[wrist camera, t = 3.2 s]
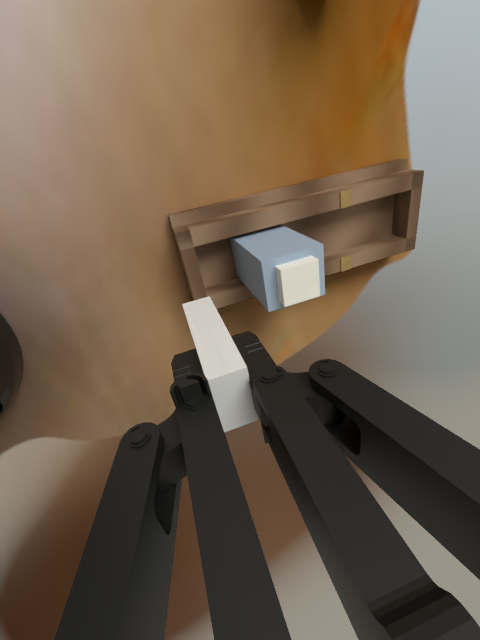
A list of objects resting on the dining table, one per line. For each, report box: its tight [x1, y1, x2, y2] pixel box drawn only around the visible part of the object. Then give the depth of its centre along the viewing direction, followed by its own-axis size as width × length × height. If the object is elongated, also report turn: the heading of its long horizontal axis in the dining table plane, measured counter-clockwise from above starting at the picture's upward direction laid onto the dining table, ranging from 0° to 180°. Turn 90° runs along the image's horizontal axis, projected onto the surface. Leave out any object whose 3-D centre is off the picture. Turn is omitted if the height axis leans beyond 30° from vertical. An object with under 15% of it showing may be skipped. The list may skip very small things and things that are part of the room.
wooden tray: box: [168, 159, 424, 309], centre depth 25 cm, size 20×8×3 cm, turn 101°
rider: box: [230, 224, 325, 312], centre depth 22 cm, size 4×3×8 cm
